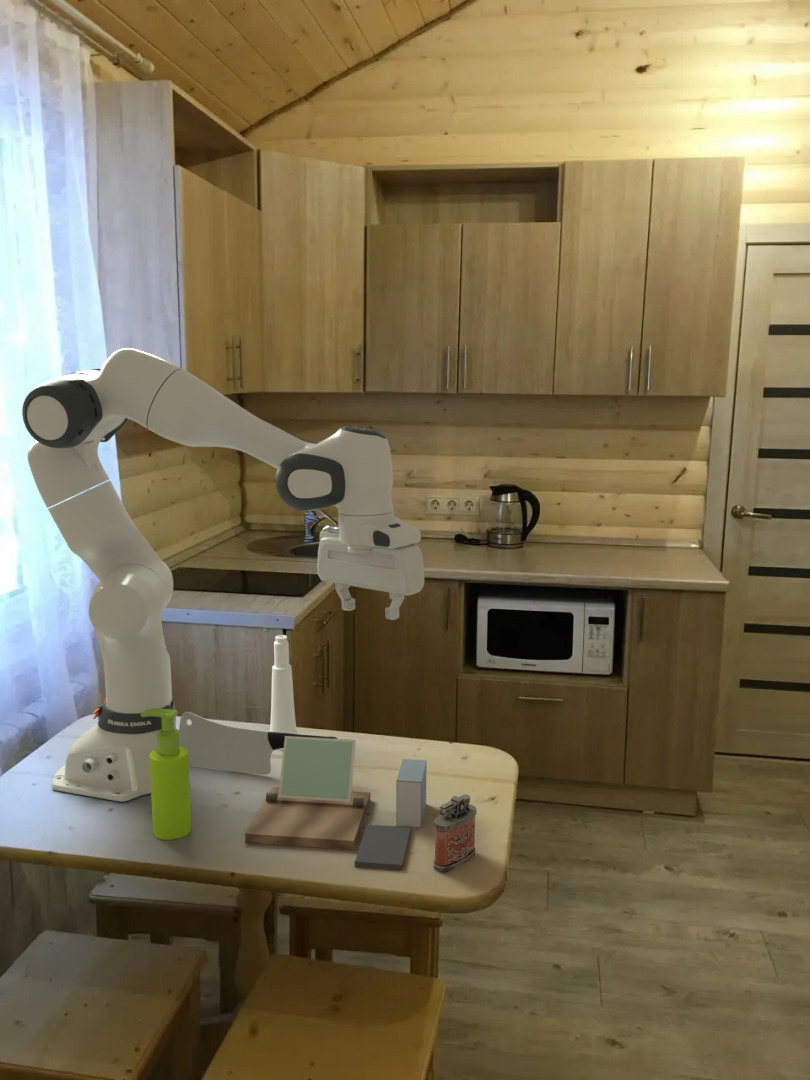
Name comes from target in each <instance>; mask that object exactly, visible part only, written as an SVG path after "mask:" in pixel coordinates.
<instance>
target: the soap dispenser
mask: <svg viewBox="0 0 810 1080" xmlns="http://www.w3.org/2000/svg"><path fill="white" fill-rule="evenodd" d="M178 714H179V712H178V710H177V709H175V710H170V709H162V708H156V709H149V710H145V711H144V712H143V713H142V714H140V715H141V716H142V717H148V716H155V717H161V720H162V729H160V730H159V731H158V732H157V749H155V750H153V751H152V752H151V753H150V754H149V762H150V781H151V793H150V796H151V800H150V801H151V814H152V818H151V819H152V832H153V833H152V834H153V837H155V838H156V839H158V840H164V841H173V840H178V839H181V838H184V837H186V836H187V835H188V834H190V833H191V831H192V810H191V790H190V785H191V784H190V783H191V782H190V766H189V760H188V750H187V749H186V748H184V747H181V746H180V744H179V728H177V727H176V728H173V718H174V717H175V716H176V717H177V715H178Z"/></svg>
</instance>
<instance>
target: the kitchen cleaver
mask: <svg viewBox="0 0 810 1080" xmlns="http://www.w3.org/2000/svg"><path fill="white" fill-rule="evenodd" d="M188 720H190V721H191V724H188ZM178 730H179V744H180V746H181V747H184V748H186V749H187V750H188V760H189V767H190V768H191V767H193V768H198V769H205V770H206V769H207V770H213V771H214V770H215V771H222V772H228V773H229V772H230V773H238V774H239V773H240V774H248V775H258V776H259V775H262V776H263V775H265V776H266V775H270V774H271V769H272V767H271V760H272V759H271V757H272V754H273V751H277V750H278V749H280V748H284V741H285V736H294V737H312V738H330V739H338V738H337V737H336V736H333V735H330V736H326V735H316V734H303V733H297V734H294V733H284V732H270V731H265V730H258V729H249V728H241V727H235V726H231V725H230V726H229V725H226V724H222V723H219V722H216V721H212V720H209V719H207V718H204V717H202V716H200V715H198V714H195V713H193V712H190V711H184V712H183V713H182V714H181V716H180V721H179V728H178Z"/></svg>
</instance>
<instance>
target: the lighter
mask: <svg viewBox="0 0 810 1080" xmlns="http://www.w3.org/2000/svg"><path fill="white" fill-rule="evenodd" d="M470 803H471V796H470V795H469V794H466V793H464V794H461V795H459V796H457V795H453V796H452V797H451V799H450V800H449V801H447V802H445V803H443V804H442V805H440V806H439V807H438V814H439V815H438V816H437V817H435V818H434V820H433V827H434V829H435V830H434V832H435V833H434V836H435V837H434V861H433V870H434V871H435V872H437V873H439V874H446V873H450V872H453V871H455V870H457V869H459V868H462V867H463V866H464V865H466V864H468V863H469V862H470V861H471V860H472V859H474V857H475V856H476V847H475V843H476V842H475V835H476V833H475V831H476V829H475V828H476V815H477V807H476V806H474V805H473V804H470Z"/></svg>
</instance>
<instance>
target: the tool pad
mask: <svg viewBox="0 0 810 1080" xmlns="http://www.w3.org/2000/svg"><path fill="white" fill-rule="evenodd" d="M411 830H412V828H411V827H398V826H396V825H395V826H394V825H380V824H369V823H368V824H366V825H365V829H364V833H363V836H362V839H361V842H360V844H359V846H358V847H359V848H358V851H357V852H356V856H355V859H354V867H355V868H357V867H359V868H371V869H382V870H383V869H385V870H397V871H402V870H403V867H404V862H405V857H406V854H407V851H408V850H407V849H408V846H409V842H410V837H411V833H412V831H411Z"/></svg>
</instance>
